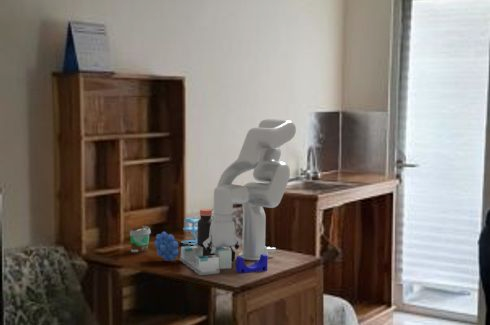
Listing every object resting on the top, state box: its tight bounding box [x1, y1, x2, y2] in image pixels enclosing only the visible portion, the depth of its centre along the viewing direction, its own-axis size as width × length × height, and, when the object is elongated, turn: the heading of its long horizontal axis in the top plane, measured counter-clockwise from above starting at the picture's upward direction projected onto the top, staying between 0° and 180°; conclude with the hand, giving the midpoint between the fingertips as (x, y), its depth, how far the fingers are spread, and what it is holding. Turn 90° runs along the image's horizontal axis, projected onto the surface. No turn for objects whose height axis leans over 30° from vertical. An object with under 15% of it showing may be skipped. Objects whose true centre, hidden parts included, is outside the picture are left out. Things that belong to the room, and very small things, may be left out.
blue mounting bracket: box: [235, 254, 269, 274], centre depth 279 cm, size 12×4×6 cm, turn 115°
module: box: [214, 247, 232, 270], centre depth 285 cm, size 5×7×8 cm
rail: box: [179, 245, 221, 276], centre depth 283 cm, size 8×24×6 cm, turn 23°
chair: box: [180, 217, 200, 246], centre depth 326 cm, size 8×8×12 cm
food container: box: [129, 225, 152, 254], centre depth 307 cm, size 12×6×10 cm, turn 161°
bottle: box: [196, 208, 214, 256], centre depth 299 cm, size 7×7×20 cm
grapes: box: [153, 231, 180, 262], centre depth 291 cm, size 12×7×12 cm, turn 64°
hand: (222, 261), depth 285 cm, fingers open, 7 cm apart
